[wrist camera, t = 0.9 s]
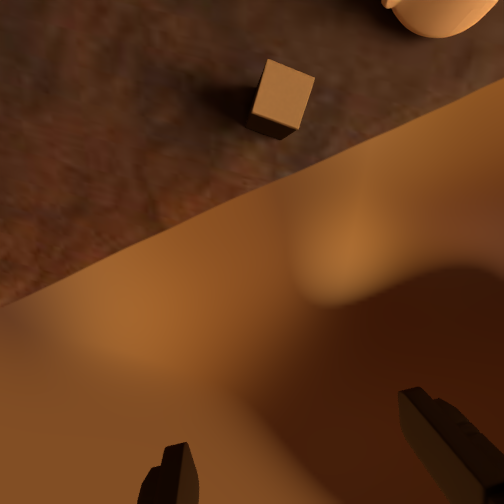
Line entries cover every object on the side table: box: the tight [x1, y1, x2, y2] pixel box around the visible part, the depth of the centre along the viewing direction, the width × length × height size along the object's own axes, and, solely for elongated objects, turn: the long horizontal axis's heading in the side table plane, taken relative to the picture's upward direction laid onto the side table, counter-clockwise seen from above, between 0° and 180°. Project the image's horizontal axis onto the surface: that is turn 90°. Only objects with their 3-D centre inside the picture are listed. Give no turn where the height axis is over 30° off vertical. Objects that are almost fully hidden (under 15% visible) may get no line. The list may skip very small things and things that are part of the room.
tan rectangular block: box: [245, 59, 315, 140], centre depth 30 cm, size 4×4×8 cm
